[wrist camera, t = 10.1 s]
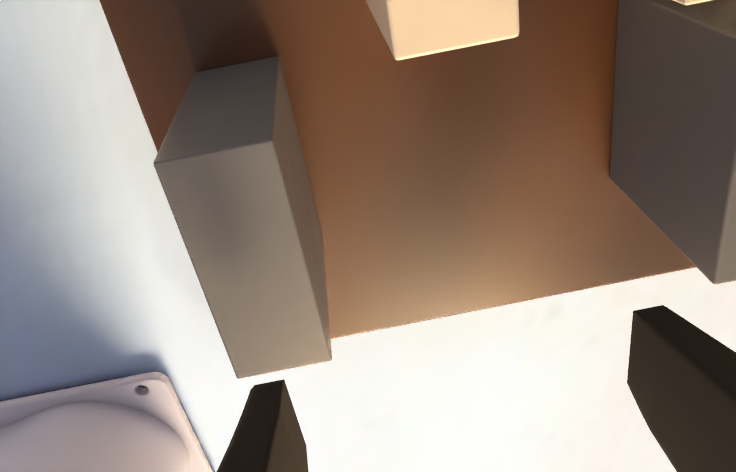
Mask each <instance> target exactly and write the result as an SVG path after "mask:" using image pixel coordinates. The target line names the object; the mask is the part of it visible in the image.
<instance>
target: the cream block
mask: <svg viewBox="0 0 736 472" xmlns="http://www.w3.org/2000/svg"><path fill="white" fill-rule="evenodd" d="M673 1H676V2H678V3H681V4H683V5H691V4H696V3H701V2H706V1H711V0H673Z"/></svg>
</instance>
